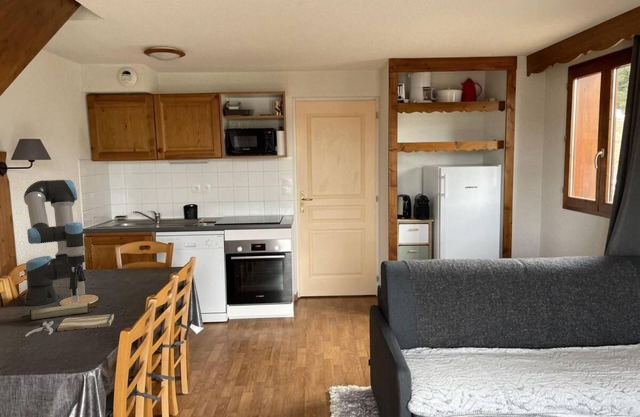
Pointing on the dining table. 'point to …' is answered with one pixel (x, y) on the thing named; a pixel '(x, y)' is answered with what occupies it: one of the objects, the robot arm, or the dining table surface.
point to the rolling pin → (59, 311)
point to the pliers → (45, 325)
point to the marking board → (86, 322)
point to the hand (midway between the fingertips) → (78, 298)
